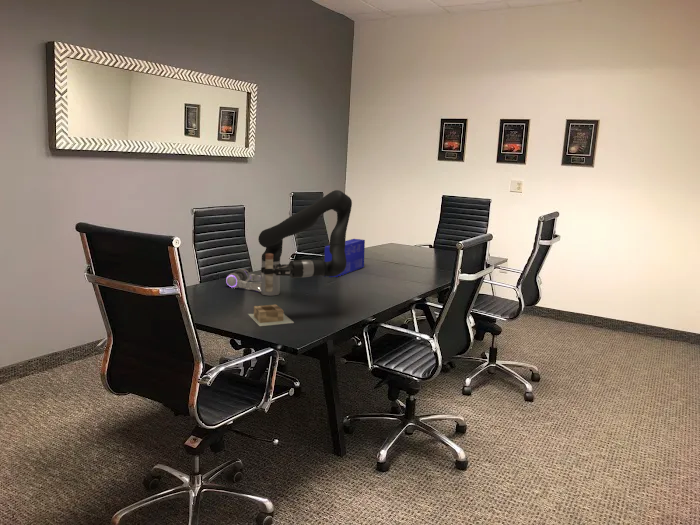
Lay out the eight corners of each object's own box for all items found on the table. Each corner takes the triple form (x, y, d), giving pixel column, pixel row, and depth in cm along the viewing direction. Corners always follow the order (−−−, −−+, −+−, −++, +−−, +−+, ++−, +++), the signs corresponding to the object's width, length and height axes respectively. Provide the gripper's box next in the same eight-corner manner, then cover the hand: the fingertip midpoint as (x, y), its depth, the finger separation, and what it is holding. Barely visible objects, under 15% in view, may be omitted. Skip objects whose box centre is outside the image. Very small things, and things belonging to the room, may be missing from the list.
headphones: (220, 288, 282) (261, 297, 279) (222, 274, 280) (263, 282, 277) (236, 279, 303) (274, 287, 300) (238, 266, 301) (276, 274, 298)
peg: (264, 290, 232) (264, 253, 229) (271, 290, 233) (271, 253, 230) (266, 292, 229) (266, 254, 226) (273, 291, 231) (274, 254, 228)
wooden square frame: (253, 316, 236) (253, 306, 235) (276, 314, 240) (276, 304, 239) (260, 322, 227) (260, 312, 226) (283, 320, 231) (283, 310, 230)
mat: (247, 314, 239) (247, 314, 239) (280, 312, 245) (280, 311, 245) (259, 327, 223) (259, 326, 223) (294, 323, 229) (294, 322, 229)
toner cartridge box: (352, 266, 357) (353, 238, 353) (364, 267, 353) (365, 239, 350) (323, 276, 323) (324, 245, 319) (335, 278, 319) (336, 247, 315)
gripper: (295, 257, 241) (257, 259, 234) (307, 263, 229) (267, 265, 221) (295, 273, 243) (257, 276, 235) (306, 280, 230) (267, 283, 223)
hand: (262, 270), depth 228 cm, fingers closed on peg, 3 cm apart
